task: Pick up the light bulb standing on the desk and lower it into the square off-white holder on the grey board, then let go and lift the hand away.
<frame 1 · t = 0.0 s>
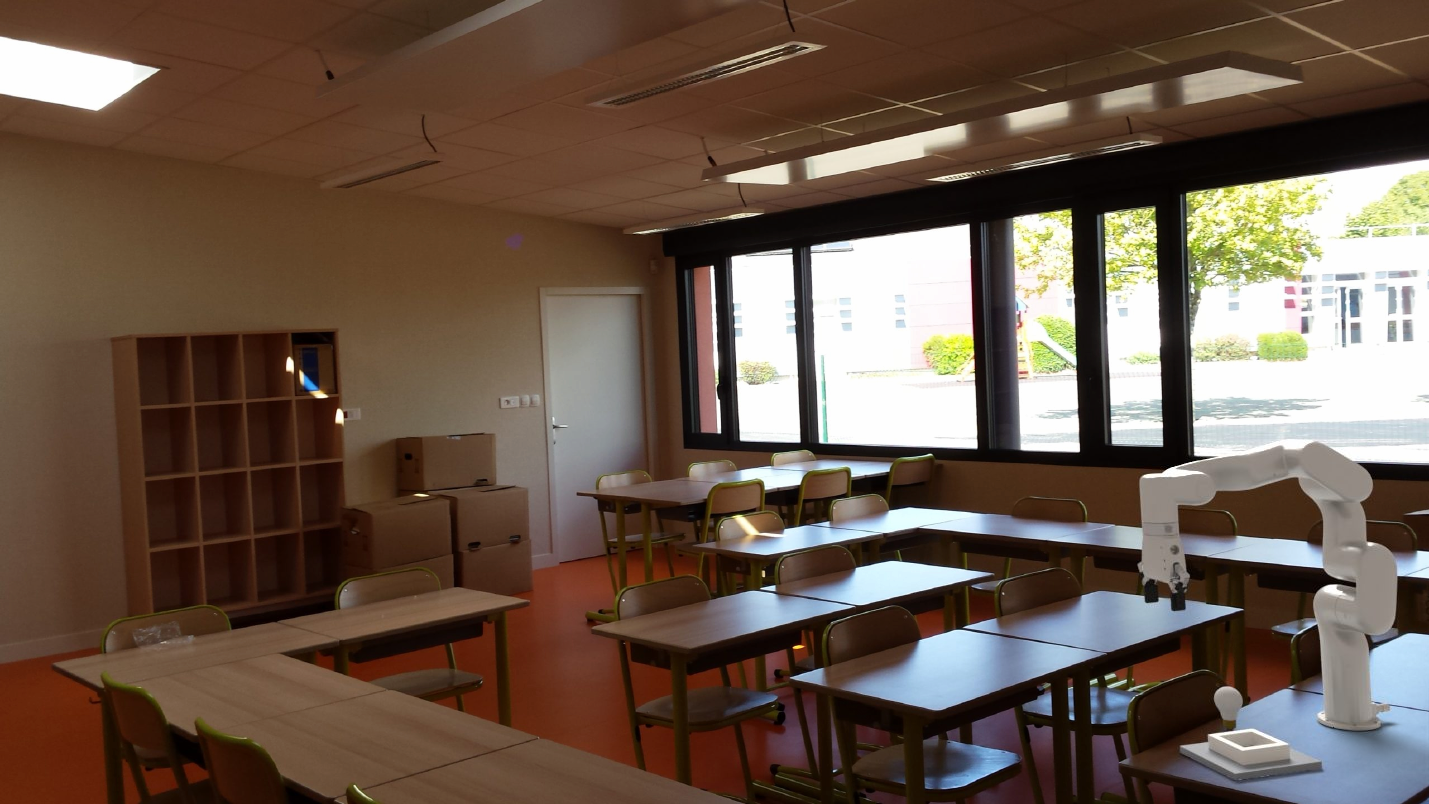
hand: (1164, 606, 235), 31 cm above the table, tool pointing down, fingers open, 9 cm apart
light bulb: (1230, 731, 243), on the table
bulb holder: (1248, 760, 224), on the table
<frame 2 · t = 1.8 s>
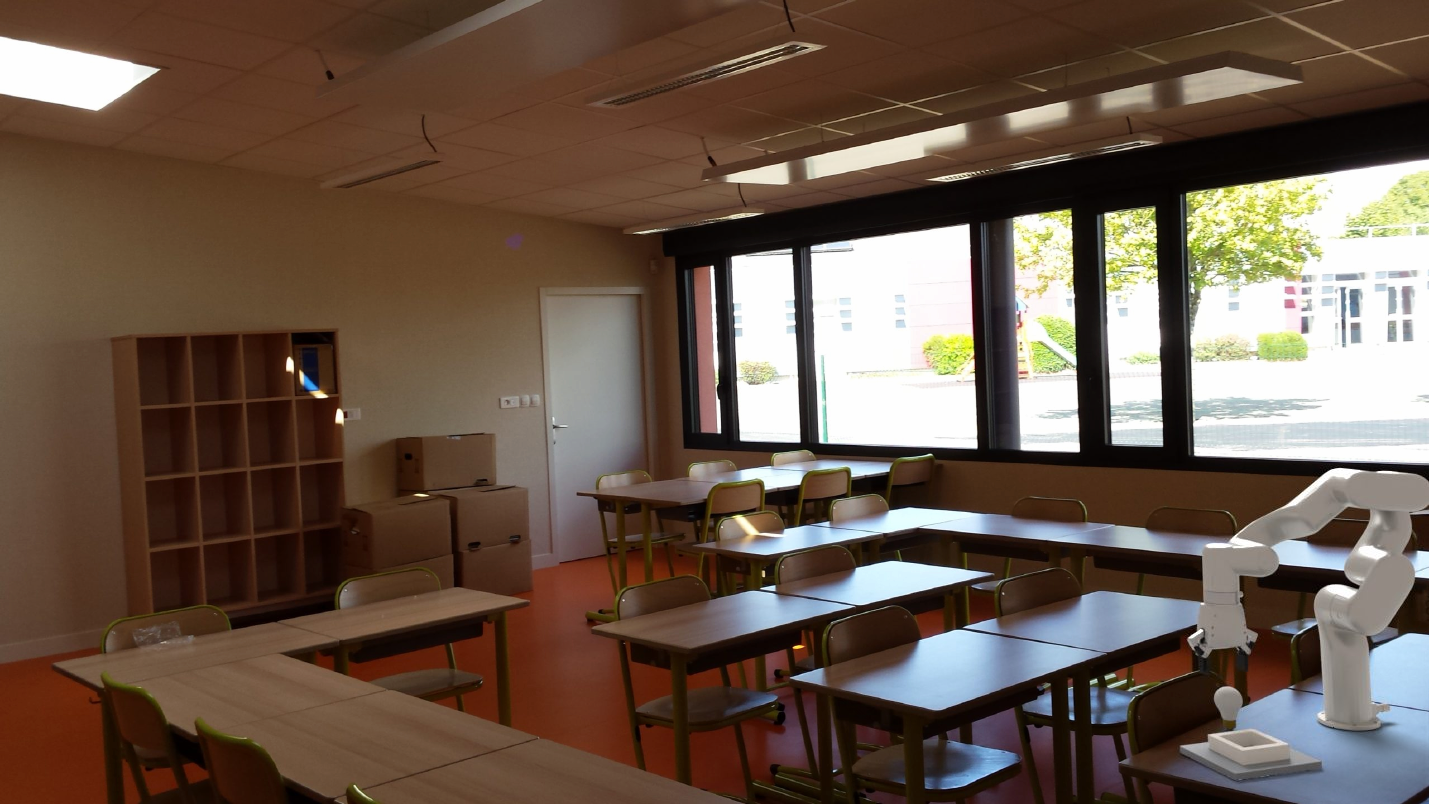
hand: (1223, 672, 243), 13 cm above the table, tool pointing down, fingers open, 9 cm apart
nothing on the table moved.
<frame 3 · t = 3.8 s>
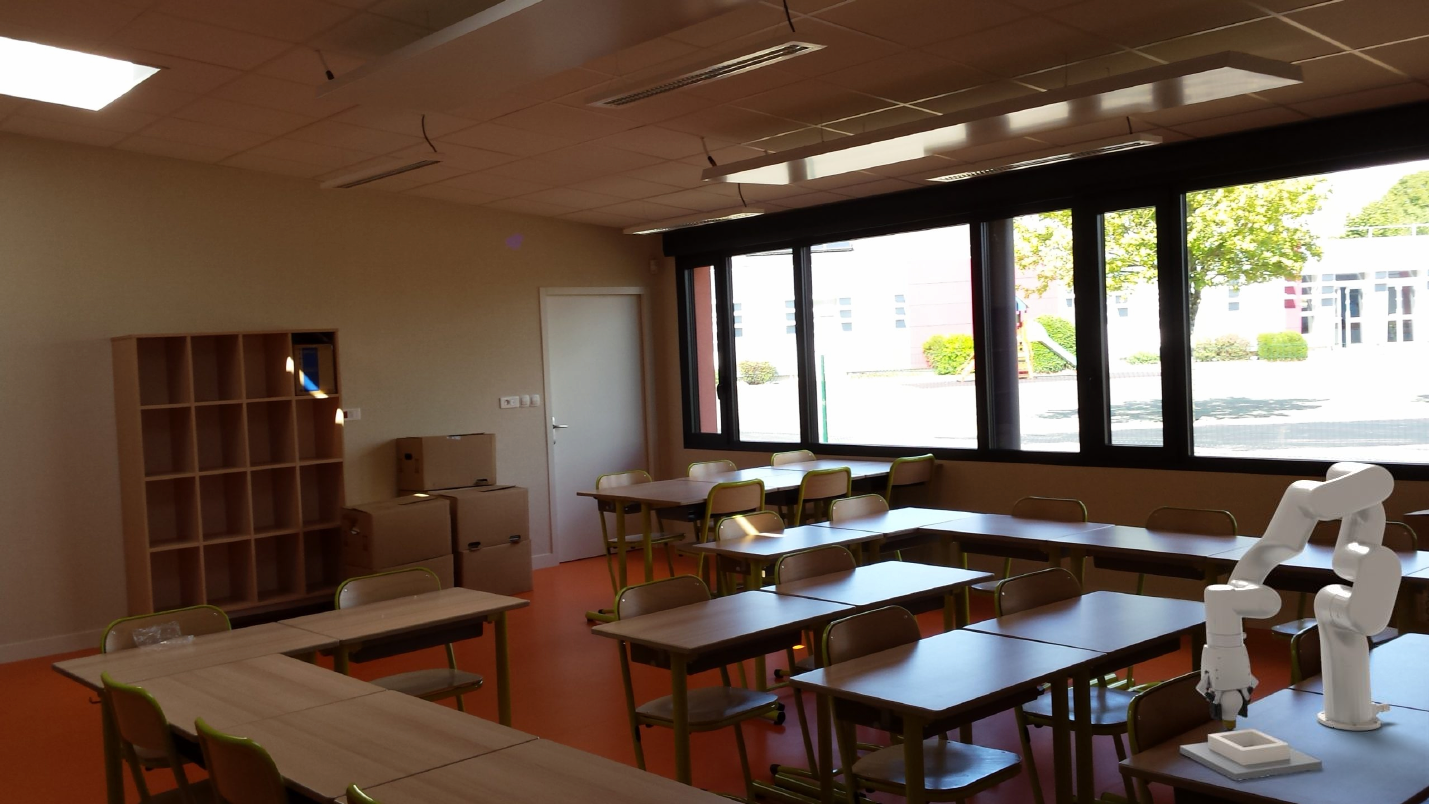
hand: (1229, 717, 243), 3 cm above the table, tool pointing down, fingers closed on light bulb, 5 cm apart
light bulb: (1230, 731, 243), on the table, touching gripper
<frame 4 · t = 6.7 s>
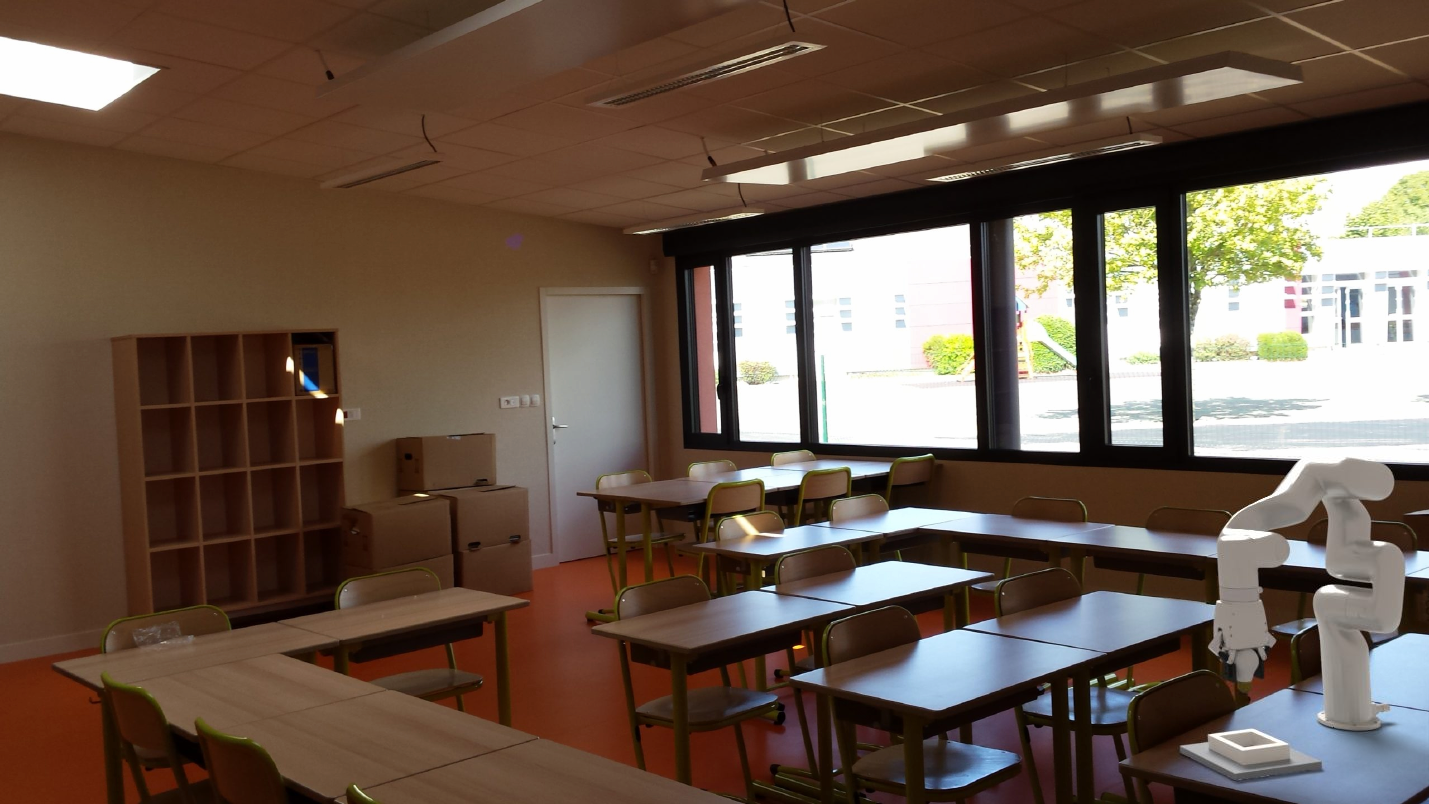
hand: (1244, 678, 224), 17 cm above the table, tool pointing down, fingers closed on light bulb, 5 cm apart
light bulb: (1245, 693, 224), point 14 cm above the table, touching gripper
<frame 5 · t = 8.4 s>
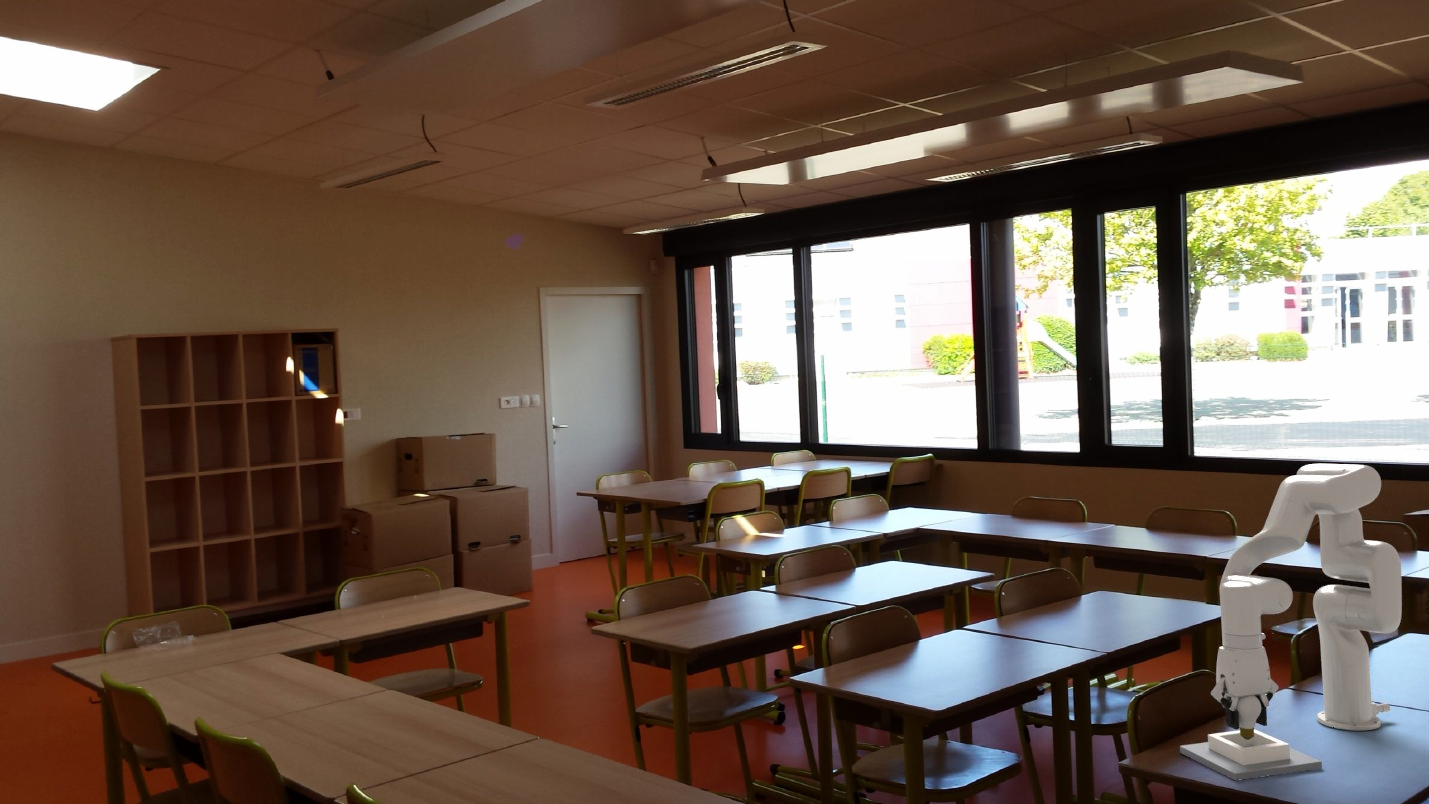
hand: (1246, 725, 224), 8 cm above the table, tool pointing down, fingers closed on light bulb, 5 cm apart
light bulb: (1247, 740, 224), point 4 cm above the table, touching gripper
when the fingers open (6 cm above the table, at t = 9.6 s): light bulb drops 1 cm, resting on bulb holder.
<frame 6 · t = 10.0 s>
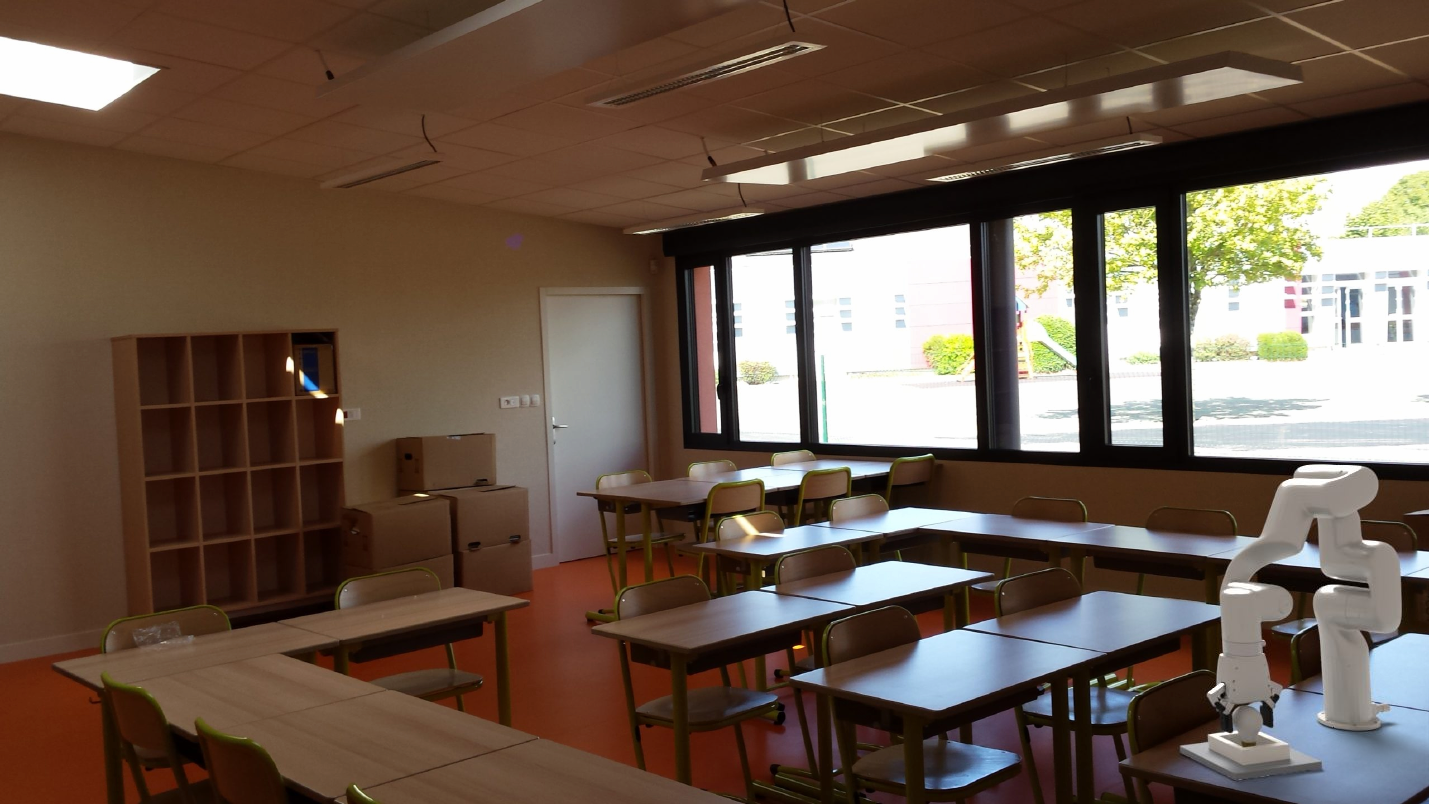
hand: (1247, 728, 224), 7 cm above the table, tool pointing down, fingers open, 9 cm apart
light bulb: (1249, 754, 224), point 1 cm above the table, touching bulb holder
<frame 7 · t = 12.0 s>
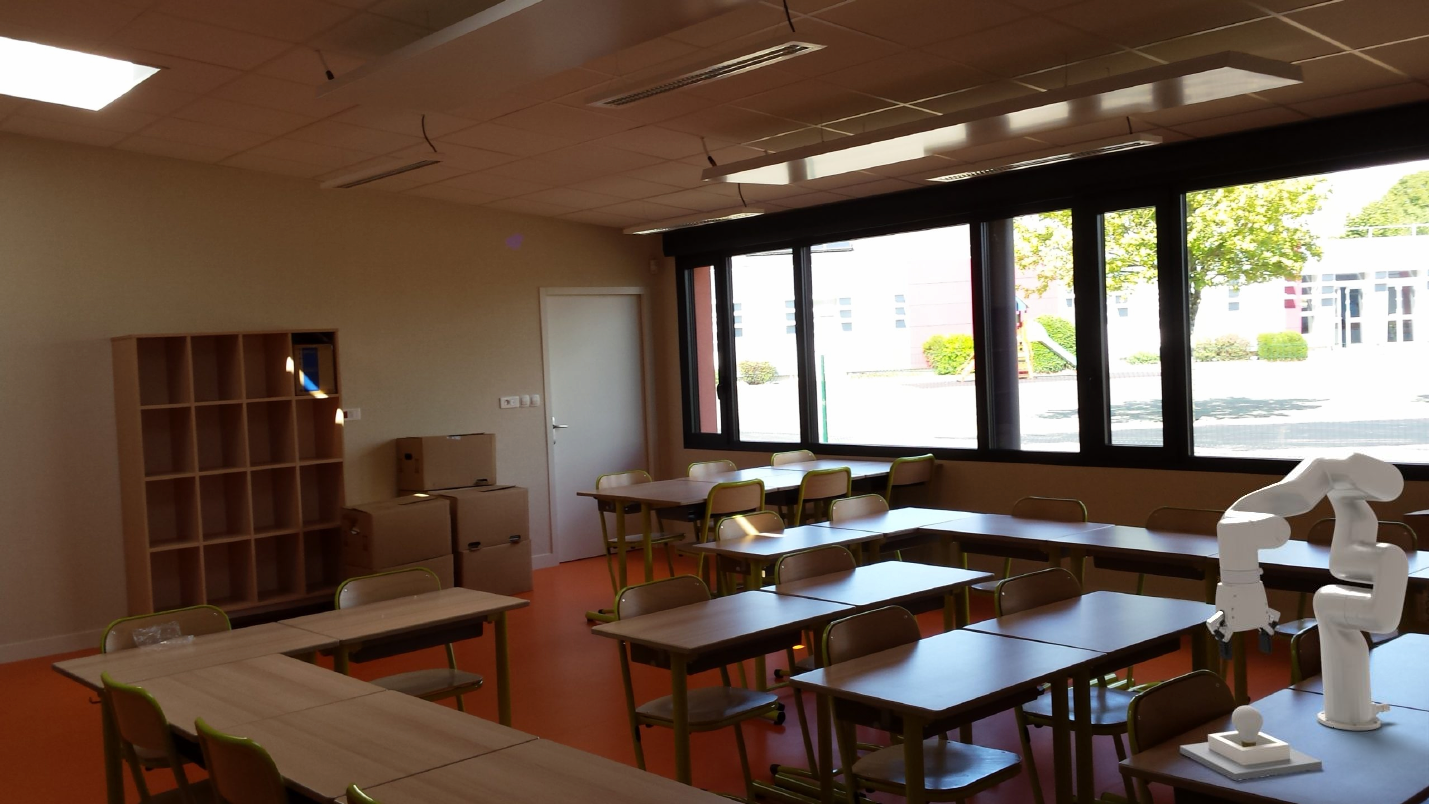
hand: (1246, 655, 227), 21 cm above the table, tool pointing down, fingers open, 9 cm apart
nothing on the table moved.
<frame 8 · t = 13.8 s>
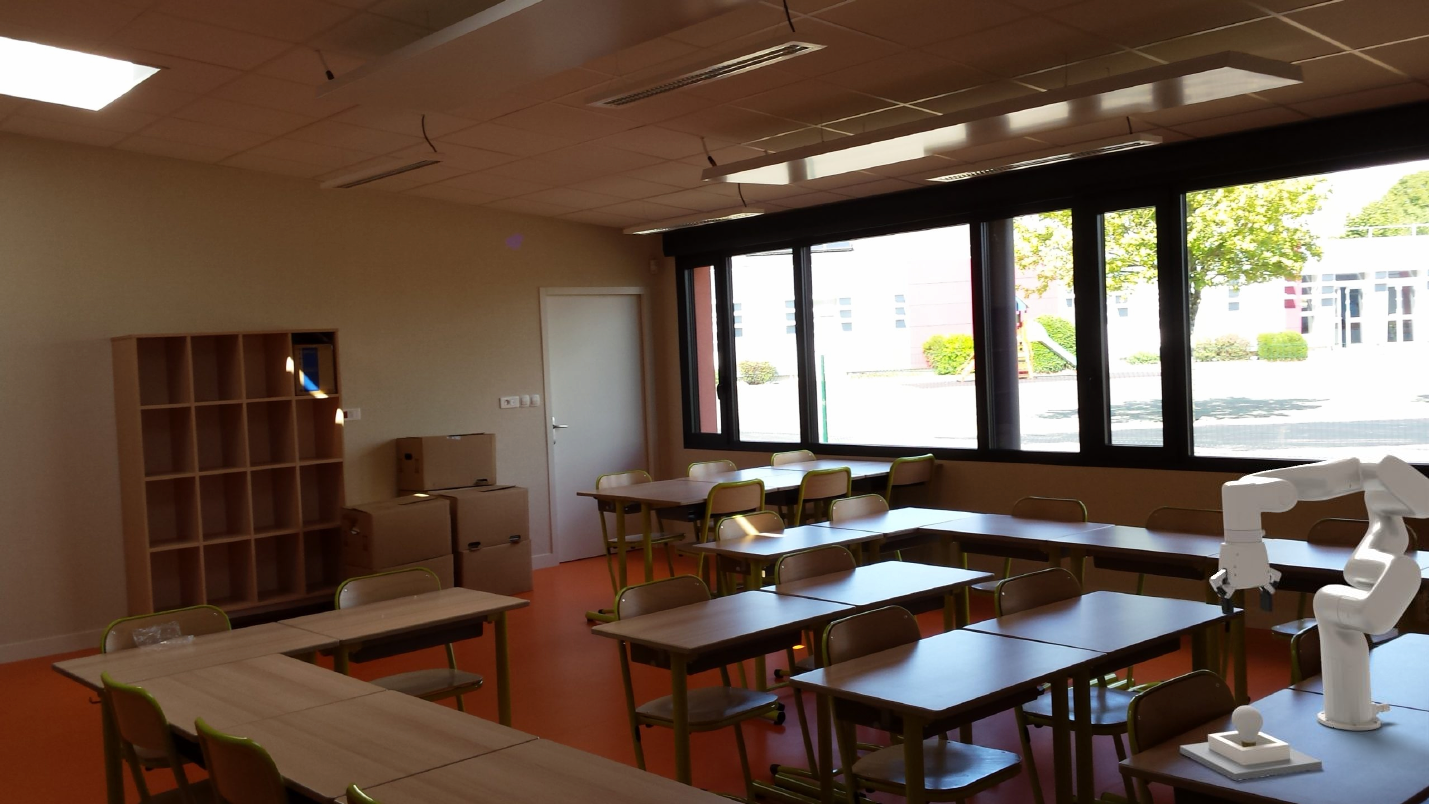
hand: (1247, 612, 237), 28 cm above the table, tool pointing down, fingers open, 9 cm apart
nothing on the table moved.
at the end: light bulb 0.3 cm off-centre on the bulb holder, point 1.3 cm above the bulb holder's base; light bulb tilted 0°; the gripper is holding nothing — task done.
